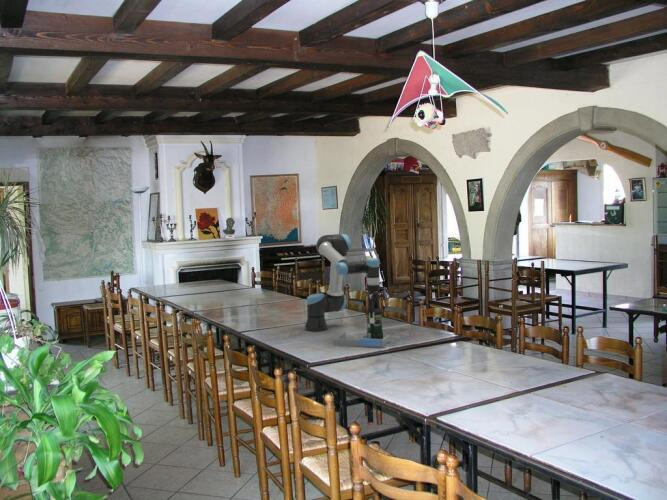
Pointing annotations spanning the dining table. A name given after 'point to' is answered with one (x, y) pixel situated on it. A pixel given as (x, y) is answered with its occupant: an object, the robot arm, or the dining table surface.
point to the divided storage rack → (361, 341)
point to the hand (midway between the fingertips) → (374, 321)
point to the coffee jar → (375, 325)
